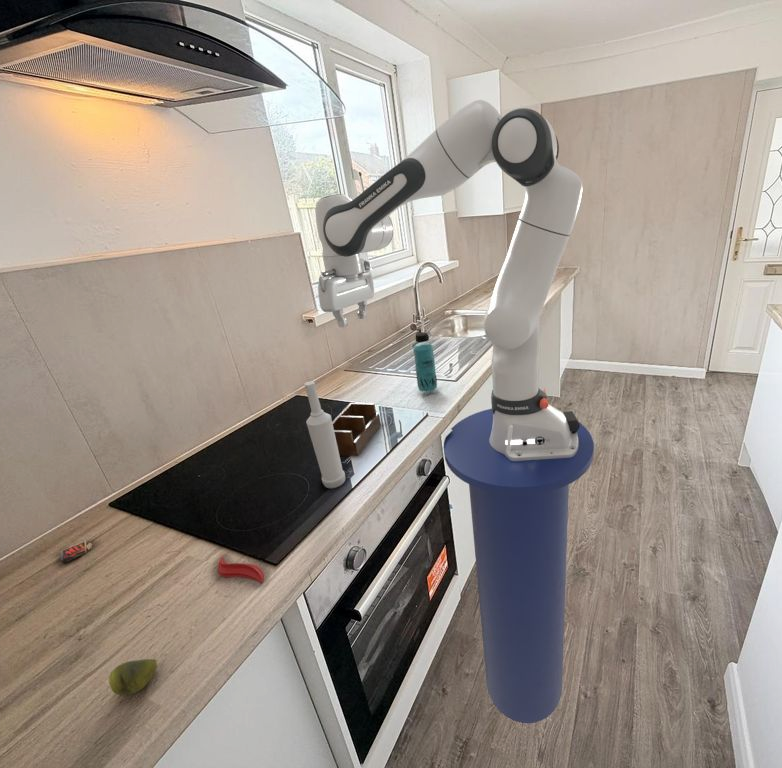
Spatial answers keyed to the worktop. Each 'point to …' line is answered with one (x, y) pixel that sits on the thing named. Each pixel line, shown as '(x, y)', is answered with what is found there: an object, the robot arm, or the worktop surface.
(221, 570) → the cayenne pepper
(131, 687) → the olive green oval lump
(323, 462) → the bottle
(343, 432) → the box
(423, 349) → the beverage bottle
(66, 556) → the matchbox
